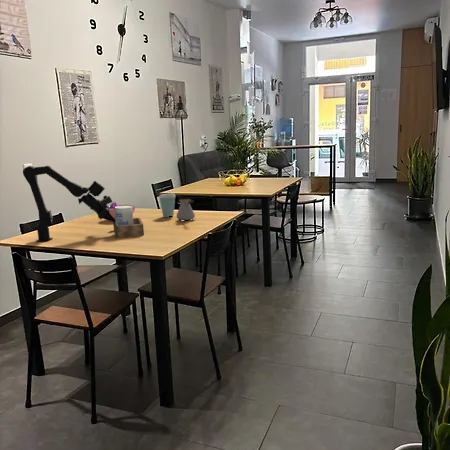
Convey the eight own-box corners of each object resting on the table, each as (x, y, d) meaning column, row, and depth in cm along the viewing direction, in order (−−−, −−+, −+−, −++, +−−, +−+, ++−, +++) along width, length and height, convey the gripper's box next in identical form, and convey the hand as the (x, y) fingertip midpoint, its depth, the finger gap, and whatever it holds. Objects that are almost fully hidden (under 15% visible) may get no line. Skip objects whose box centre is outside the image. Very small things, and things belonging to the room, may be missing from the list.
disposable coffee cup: (157, 217, 290) (155, 194, 286) (164, 214, 300) (163, 192, 297) (172, 218, 287) (171, 195, 283) (179, 215, 297) (177, 192, 293)
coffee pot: (174, 219, 283) (173, 195, 280) (192, 217, 287) (190, 194, 283) (183, 225, 263) (182, 200, 260) (202, 223, 267) (201, 198, 264)
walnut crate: (115, 237, 239) (114, 225, 237) (113, 229, 258) (112, 218, 257) (144, 235, 243) (143, 222, 241) (140, 227, 262) (139, 216, 261)
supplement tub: (116, 235, 244) (113, 208, 241) (116, 231, 253) (114, 206, 250) (134, 234, 246) (132, 207, 243) (134, 230, 255) (132, 204, 252)
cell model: (130, 222, 279) (128, 204, 276) (100, 222, 282) (98, 204, 280) (140, 217, 295) (138, 200, 293) (111, 217, 299) (110, 200, 296)
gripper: (102, 193, 234) (126, 213, 239) (102, 189, 251) (123, 207, 256) (88, 209, 233) (112, 228, 238) (88, 204, 251) (110, 222, 256)
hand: (115, 221), depth 247 cm, fingers closed, pressing on supplement tub
